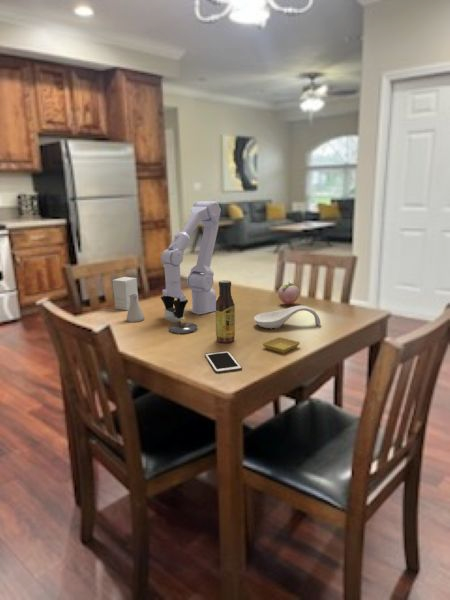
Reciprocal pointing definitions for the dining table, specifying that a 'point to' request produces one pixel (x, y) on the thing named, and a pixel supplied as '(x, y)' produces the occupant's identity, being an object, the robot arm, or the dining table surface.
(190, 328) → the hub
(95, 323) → the dining table surface
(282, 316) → the spoon rest
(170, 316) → the collar
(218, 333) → the sauce bottle
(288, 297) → the decorative fruit
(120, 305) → the supplement box
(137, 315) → the flask
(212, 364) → the cell phone
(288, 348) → the saucer
